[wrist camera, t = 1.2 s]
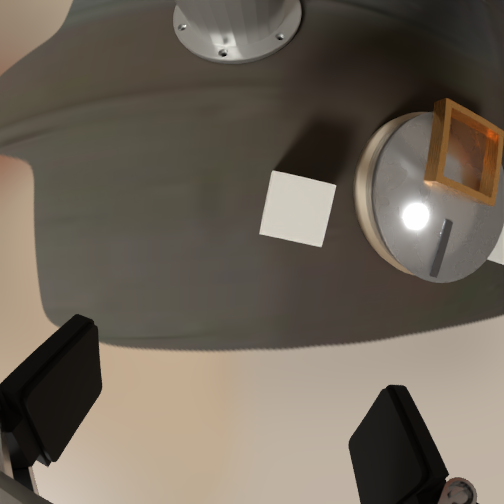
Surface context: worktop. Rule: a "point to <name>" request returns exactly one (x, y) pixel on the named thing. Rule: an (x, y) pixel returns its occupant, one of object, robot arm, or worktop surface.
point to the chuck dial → (438, 192)
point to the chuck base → (360, 187)
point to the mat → (498, 250)
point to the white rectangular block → (297, 208)
